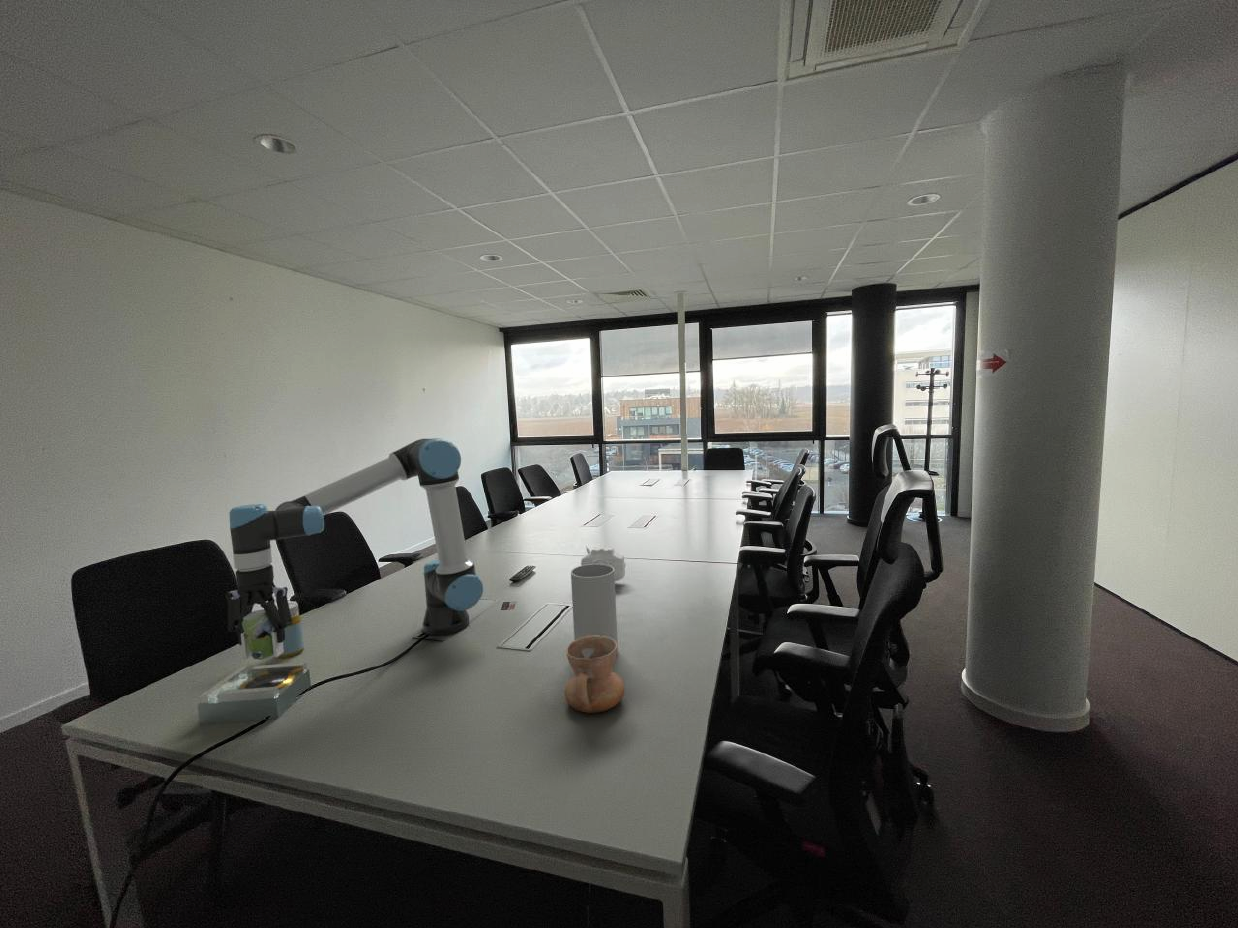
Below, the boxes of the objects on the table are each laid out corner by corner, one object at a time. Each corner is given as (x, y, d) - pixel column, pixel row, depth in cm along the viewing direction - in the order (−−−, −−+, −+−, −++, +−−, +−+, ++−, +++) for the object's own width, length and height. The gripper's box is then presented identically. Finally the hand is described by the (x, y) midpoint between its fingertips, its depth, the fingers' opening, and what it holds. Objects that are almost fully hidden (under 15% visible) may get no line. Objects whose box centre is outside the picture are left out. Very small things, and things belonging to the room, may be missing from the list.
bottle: (290, 659, 149) (285, 611, 148) (271, 658, 151) (266, 610, 149) (309, 648, 156) (304, 602, 155) (291, 647, 157) (285, 602, 156)
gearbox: (311, 686, 132) (308, 661, 132) (278, 718, 118) (275, 690, 118) (241, 691, 131) (238, 666, 131) (200, 724, 117) (196, 696, 117)
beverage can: (286, 652, 127) (282, 607, 126) (258, 665, 120) (252, 618, 119) (269, 649, 129) (264, 605, 128) (240, 662, 122) (235, 615, 121)
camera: (586, 580, 211) (584, 543, 209) (627, 580, 207) (625, 543, 206) (579, 589, 200) (577, 550, 198) (623, 589, 197) (621, 550, 195)
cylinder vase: (625, 647, 147) (621, 566, 144) (606, 667, 135) (602, 579, 133) (588, 641, 152) (584, 562, 150) (567, 660, 141) (562, 575, 138)
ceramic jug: (580, 679, 130) (576, 628, 128) (633, 685, 125) (630, 632, 124) (551, 722, 113) (546, 663, 111) (611, 730, 108) (607, 669, 107)
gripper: (303, 560, 127) (312, 646, 129) (224, 564, 126) (234, 651, 128) (285, 569, 120) (295, 659, 122) (201, 573, 118) (212, 665, 121)
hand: (263, 655), depth 125 cm, fingers closed on beverage can, 7 cm apart
